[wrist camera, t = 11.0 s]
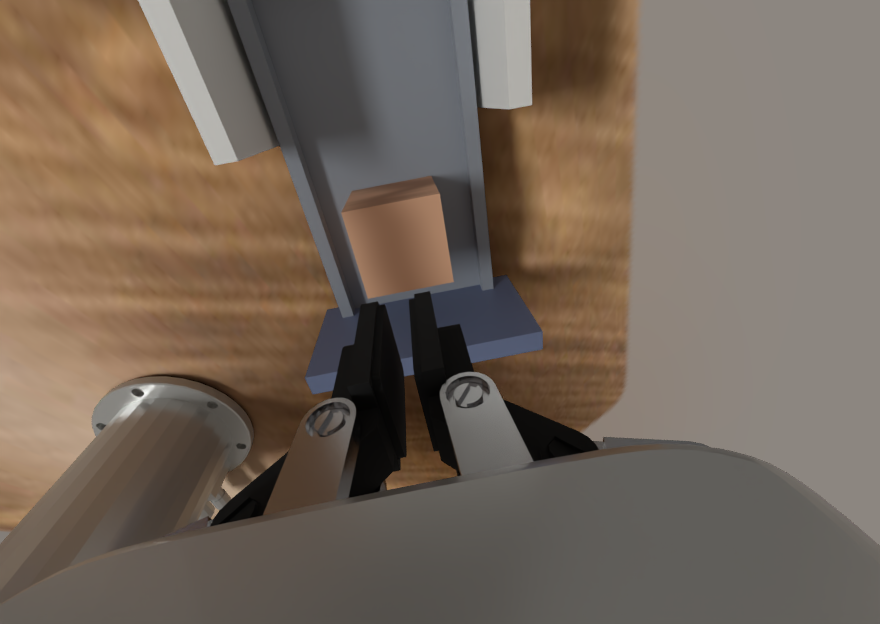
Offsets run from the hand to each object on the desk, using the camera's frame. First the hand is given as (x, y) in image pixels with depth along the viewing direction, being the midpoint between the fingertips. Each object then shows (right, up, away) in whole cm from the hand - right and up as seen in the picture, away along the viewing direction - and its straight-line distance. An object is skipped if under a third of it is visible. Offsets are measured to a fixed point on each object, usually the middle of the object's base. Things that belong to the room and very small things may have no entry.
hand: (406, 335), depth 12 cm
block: (-1, +7, +11) cm, 13 cm away
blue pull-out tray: (-2, +9, +11) cm, 14 cm away
